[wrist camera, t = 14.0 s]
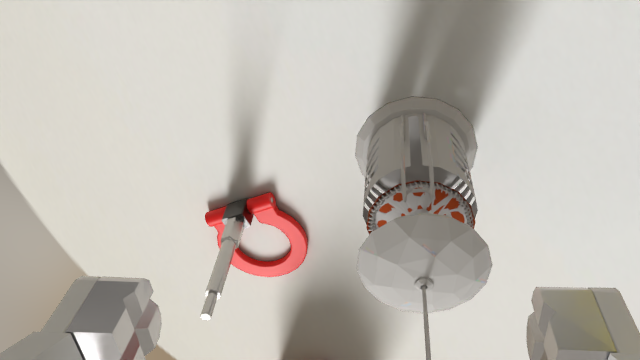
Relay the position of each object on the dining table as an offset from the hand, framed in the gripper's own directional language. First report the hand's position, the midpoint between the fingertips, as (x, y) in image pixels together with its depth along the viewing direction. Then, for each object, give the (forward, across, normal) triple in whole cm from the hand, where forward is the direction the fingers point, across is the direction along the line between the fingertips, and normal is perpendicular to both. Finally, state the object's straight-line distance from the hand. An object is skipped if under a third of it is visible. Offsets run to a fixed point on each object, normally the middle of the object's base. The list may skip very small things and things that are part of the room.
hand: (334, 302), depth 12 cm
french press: (+31, -3, +14) cm, 34 cm away
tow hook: (+31, +11, +24) cm, 41 cm away
